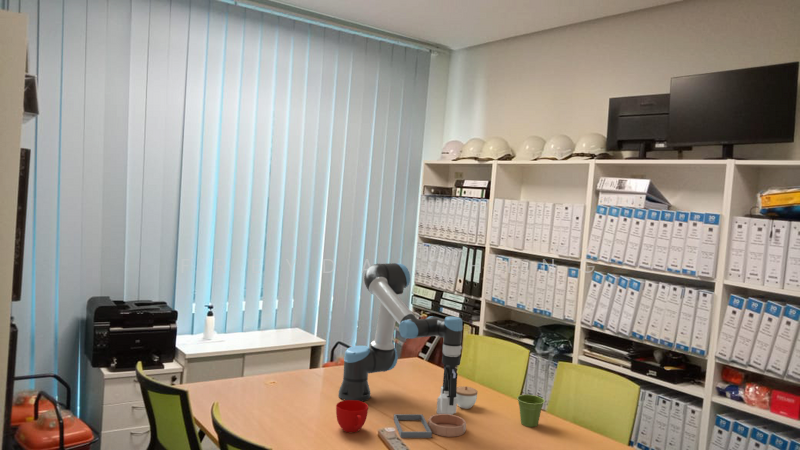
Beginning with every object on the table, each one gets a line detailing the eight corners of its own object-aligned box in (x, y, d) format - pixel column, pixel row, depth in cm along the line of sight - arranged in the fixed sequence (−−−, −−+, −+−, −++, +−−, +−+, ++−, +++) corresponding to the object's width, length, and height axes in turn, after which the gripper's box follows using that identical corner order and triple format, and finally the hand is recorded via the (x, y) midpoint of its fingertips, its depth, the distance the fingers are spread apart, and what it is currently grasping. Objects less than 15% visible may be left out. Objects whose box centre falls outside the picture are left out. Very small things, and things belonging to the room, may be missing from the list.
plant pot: (513, 418, 261) (514, 393, 261) (539, 420, 261) (541, 395, 261) (517, 428, 250) (519, 402, 249) (545, 430, 249) (547, 404, 249)
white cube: (456, 413, 240) (457, 398, 240) (441, 412, 240) (442, 398, 240) (454, 408, 246) (455, 394, 246) (440, 407, 246) (440, 393, 246)
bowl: (432, 436, 235) (433, 427, 235) (425, 422, 250) (425, 413, 250) (469, 436, 237) (469, 427, 237) (459, 422, 252) (460, 414, 252)
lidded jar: (475, 411, 267) (476, 391, 267) (452, 408, 269) (453, 388, 269) (477, 404, 278) (478, 384, 277) (454, 401, 280) (456, 381, 279)
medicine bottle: (455, 411, 266) (457, 385, 266) (451, 416, 259) (453, 389, 259) (440, 408, 268) (442, 382, 268) (436, 413, 262) (438, 387, 261)
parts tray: (400, 437, 232) (400, 432, 232) (393, 419, 251) (393, 414, 251) (431, 437, 234) (431, 432, 234) (422, 419, 253) (422, 414, 253)
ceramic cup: (343, 441, 225) (345, 416, 225) (330, 425, 240) (332, 401, 240) (374, 438, 230) (376, 413, 230) (360, 422, 246) (361, 398, 245)
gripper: (466, 360, 233) (462, 417, 234) (454, 348, 252) (451, 401, 253) (448, 360, 232) (444, 417, 233) (437, 348, 251) (434, 401, 252)
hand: (448, 409), depth 243 cm, fingers closed on white cube, 6 cm apart
